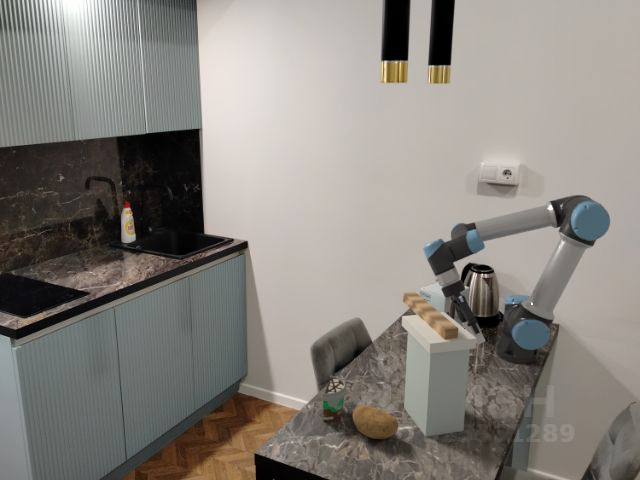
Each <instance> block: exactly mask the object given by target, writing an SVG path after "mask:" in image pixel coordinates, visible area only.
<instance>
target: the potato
mask: <svg viewBox="0 0 640 480" xmlns="http://www.w3.org/2000/svg"><path fill="white" fill-rule="evenodd" d="M352 421H353V423H354V425H355V427H356V429H357V431H358V432H359V433H361V434H362V435H364V436H366V437H368V438H370V439H374V440H384V439H388V438H390V437H392V436H394V435H395V434H397V431H398V430H399V422H398V421H397V419H396V418H395V417H394V416H393V415H392V414H390V413H387V412H386V411H384V410H382V409H379V408H376V407H374V406H370V405H367V404H362V405H359V406H357V407H356V408H355V409H354V410H353V411H352Z"/></svg>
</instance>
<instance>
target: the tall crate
mask: <svg viewBox="0 0 640 480" xmlns="http://www.w3.org/2000/svg"><path fill="white" fill-rule="evenodd" d="M440 313H441V314H442V315H443V316H444V317H446V318H447V319H448V320H449V321H450V322H452V323H453V324H454V325H455V326H457V327H458V338H454V339H443V338H442V337H441V336H440V335H439V334H438V333H437V332H436V331H435V330H434V329H432V328H431V327H430V326H429V325H428V324H427V323H426V322H425V321H424V320H423V319H421V318H420V317H419V316H418V315H417V314H414V315H413V314H412V315H403V316H401V326H402V328H403V329H404V330H406V332H407V341H406V342H407V345H406V361H405V362H406V363H405V367H406V368H405V384H404V385H405V386H404V402H403V403H404V404H403V407H404V408H403V409H404V410H405V411H406V412H407V414H408V416H409V417H410V418H411V420H412V421H413V422H414V423H415V424H416V426H417V427H418V429H419V430H420V432H421V433H422V434H423V436H424V437H426V438H427V437H432V436H440V435H445V434H446V435H447V434H452V433H460V432H464V427H465V413H466V402H467V388H468V377H469V376H468V374H469V363H470V362H469V361H470V353H471V352H470V351H471V350H472V349H476V348H477V342H476V339H477V338H475V337H474V336H473V335H472V334H471V333H469V332H468V331H467V330H466V329H464V328H463V327H462V326H461V325H460V324H458V323H457V322H456V321H455V320H453V319H452V318H451V317H450V316H448V315H447V314H446V313H445V312H440Z"/></svg>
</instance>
